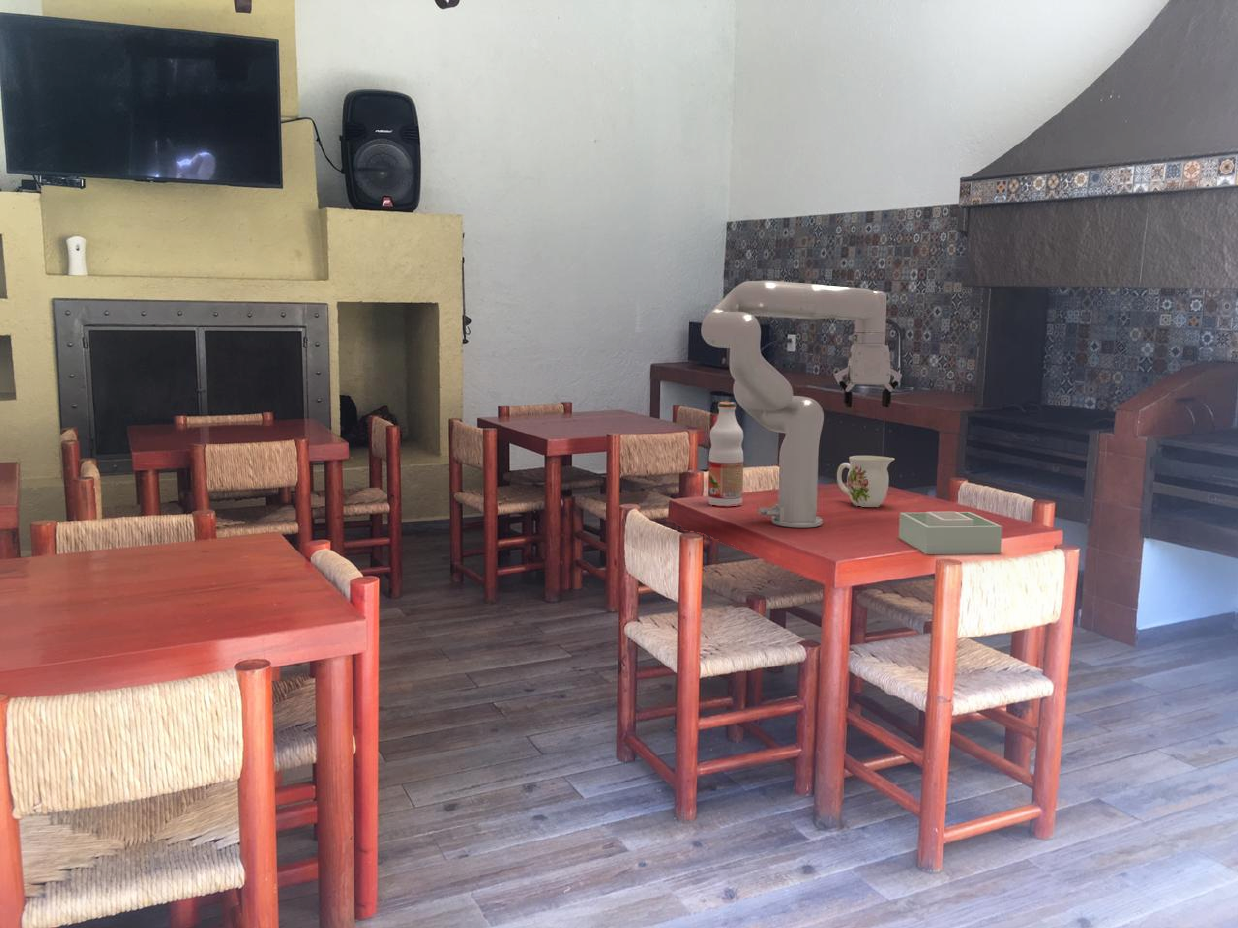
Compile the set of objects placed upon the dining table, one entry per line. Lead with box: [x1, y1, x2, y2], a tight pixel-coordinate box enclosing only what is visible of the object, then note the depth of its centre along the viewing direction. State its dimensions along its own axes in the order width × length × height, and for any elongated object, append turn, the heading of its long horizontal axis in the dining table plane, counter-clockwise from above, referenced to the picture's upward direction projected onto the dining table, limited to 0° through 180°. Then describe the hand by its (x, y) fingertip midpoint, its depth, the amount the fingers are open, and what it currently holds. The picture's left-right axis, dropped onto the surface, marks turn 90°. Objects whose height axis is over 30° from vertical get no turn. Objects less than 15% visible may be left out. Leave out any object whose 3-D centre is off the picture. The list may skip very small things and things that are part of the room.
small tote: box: [925, 511, 974, 527], centre depth 241 cm, size 7×10×6 cm
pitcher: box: [836, 455, 895, 508], centre depth 291 cm, size 11×18×14 cm, turn 43°
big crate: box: [898, 511, 1003, 555], centre depth 241 cm, size 17×17×6 cm
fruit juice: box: [707, 401, 744, 505], centre depth 289 cm, size 9×9×28 cm
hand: (867, 406), depth 273 cm, fingers open, 9 cm apart
